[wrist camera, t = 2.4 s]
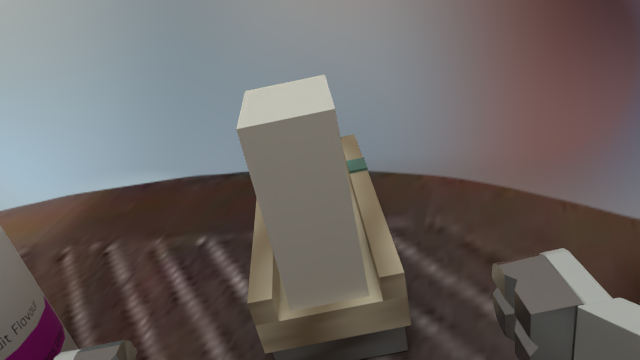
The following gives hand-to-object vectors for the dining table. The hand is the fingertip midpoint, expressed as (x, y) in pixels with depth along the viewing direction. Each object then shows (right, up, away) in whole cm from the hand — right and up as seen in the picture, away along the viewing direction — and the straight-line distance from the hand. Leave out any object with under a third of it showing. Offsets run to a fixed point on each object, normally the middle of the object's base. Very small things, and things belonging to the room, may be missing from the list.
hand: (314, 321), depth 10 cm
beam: (+1, -3, +22) cm, 22 cm away
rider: (0, -2, +15) cm, 15 cm away
